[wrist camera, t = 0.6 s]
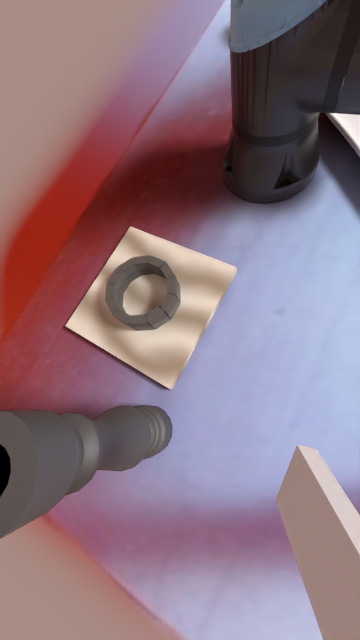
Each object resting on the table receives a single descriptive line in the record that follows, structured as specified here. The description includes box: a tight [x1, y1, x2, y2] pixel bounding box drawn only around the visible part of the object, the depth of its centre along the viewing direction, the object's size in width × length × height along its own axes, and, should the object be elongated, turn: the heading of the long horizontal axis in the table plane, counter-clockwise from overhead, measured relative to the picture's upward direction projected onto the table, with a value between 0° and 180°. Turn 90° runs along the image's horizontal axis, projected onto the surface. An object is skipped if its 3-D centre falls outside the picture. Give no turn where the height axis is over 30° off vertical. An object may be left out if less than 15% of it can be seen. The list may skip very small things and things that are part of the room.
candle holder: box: [0, 406, 172, 539], centre depth 24 cm, size 6×6×25 cm
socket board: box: [65, 227, 237, 390], centre depth 39 cm, size 20×20×5 cm
